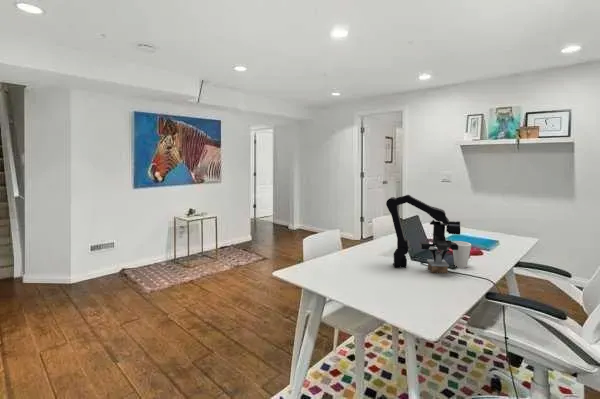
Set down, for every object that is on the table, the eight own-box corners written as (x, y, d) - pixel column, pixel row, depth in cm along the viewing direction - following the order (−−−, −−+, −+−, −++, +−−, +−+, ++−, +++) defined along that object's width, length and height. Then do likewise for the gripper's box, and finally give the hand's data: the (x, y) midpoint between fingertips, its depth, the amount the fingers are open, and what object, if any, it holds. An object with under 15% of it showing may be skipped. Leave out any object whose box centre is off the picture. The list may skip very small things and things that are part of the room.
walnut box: (431, 273, 178) (432, 265, 177) (427, 268, 186) (428, 261, 185) (447, 273, 177) (447, 266, 176) (442, 268, 185) (443, 261, 184)
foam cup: (472, 269, 183) (473, 246, 181) (453, 268, 185) (454, 245, 183) (467, 263, 192) (468, 241, 190) (449, 263, 194) (450, 241, 192)
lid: (431, 266, 177) (431, 257, 176) (426, 260, 186) (427, 252, 185) (449, 266, 176) (449, 257, 175) (443, 261, 185) (444, 252, 184)
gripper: (424, 236, 172) (423, 265, 174) (462, 236, 170) (461, 266, 172) (419, 231, 183) (418, 259, 185) (455, 231, 181) (453, 259, 183)
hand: (437, 261), depth 181 cm, fingers closed on lid, 3 cm apart
